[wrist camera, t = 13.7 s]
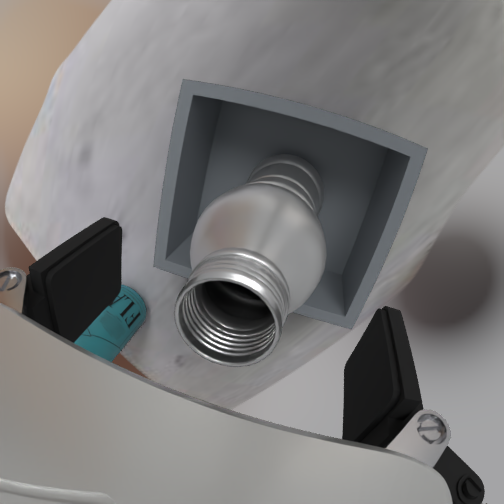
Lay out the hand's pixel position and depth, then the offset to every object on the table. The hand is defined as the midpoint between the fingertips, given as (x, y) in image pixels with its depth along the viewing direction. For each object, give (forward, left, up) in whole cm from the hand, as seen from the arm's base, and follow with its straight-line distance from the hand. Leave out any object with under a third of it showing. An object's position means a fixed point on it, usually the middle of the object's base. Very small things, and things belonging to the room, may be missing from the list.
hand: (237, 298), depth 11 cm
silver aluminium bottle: (+1, 0, -19) cm, 19 cm away
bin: (+1, 0, -20) cm, 20 cm away
